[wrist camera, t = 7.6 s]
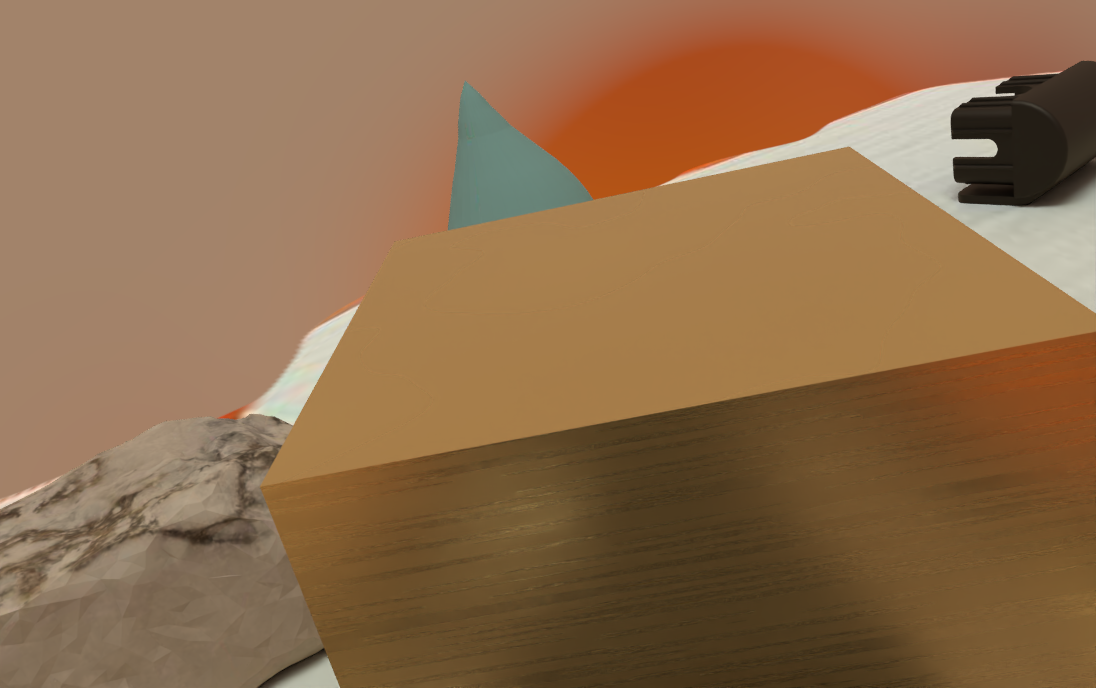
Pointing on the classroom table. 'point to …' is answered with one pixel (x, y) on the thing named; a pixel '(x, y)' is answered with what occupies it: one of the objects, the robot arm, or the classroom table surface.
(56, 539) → the decorative stone
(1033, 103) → the end cap
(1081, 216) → the classroom table surface
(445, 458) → the golden brown rectangular block
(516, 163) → the toy
